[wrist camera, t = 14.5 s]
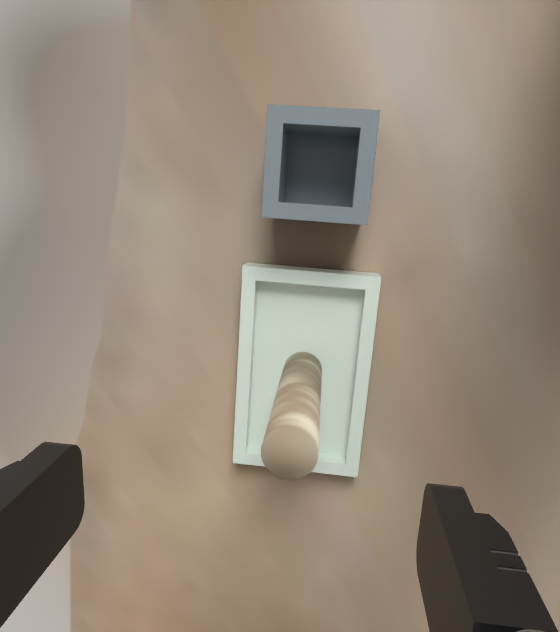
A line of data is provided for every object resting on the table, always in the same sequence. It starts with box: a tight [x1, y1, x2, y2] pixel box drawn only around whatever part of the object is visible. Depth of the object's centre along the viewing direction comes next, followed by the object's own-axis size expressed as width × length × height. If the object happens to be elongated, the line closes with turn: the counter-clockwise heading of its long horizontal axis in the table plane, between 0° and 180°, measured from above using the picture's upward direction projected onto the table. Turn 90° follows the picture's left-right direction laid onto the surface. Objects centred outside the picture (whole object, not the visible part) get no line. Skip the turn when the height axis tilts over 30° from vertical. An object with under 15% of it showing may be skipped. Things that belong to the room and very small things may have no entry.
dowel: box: [261, 352, 322, 480], centre depth 31 cm, size 3×3×13 cm
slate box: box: [261, 104, 380, 225], centre depth 32 cm, size 7×7×6 cm
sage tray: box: [233, 263, 381, 477], centre depth 37 cm, size 10×16×2 cm, turn 176°
